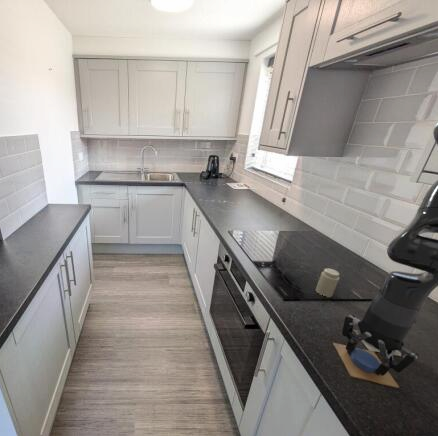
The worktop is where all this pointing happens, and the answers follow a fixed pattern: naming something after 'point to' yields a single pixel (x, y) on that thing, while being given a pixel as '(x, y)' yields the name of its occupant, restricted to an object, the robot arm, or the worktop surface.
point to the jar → (327, 282)
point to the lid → (364, 360)
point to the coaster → (362, 374)
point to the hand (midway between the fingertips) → (363, 362)
